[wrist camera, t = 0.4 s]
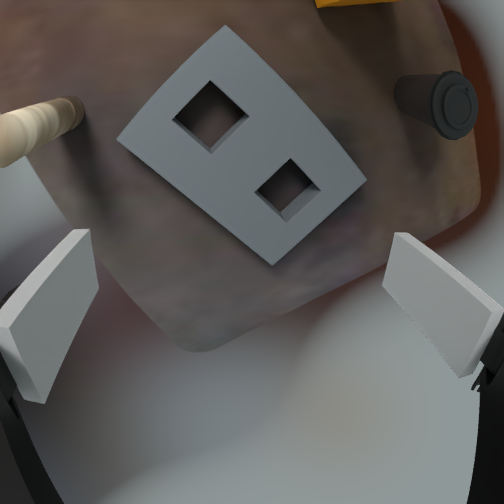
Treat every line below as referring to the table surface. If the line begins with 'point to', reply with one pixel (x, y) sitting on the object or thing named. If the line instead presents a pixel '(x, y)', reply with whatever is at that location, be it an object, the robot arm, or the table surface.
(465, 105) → the coffee cup
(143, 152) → the stool seat
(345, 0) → the bracket
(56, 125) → the maple leg
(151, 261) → the table surface
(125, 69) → the table surface
